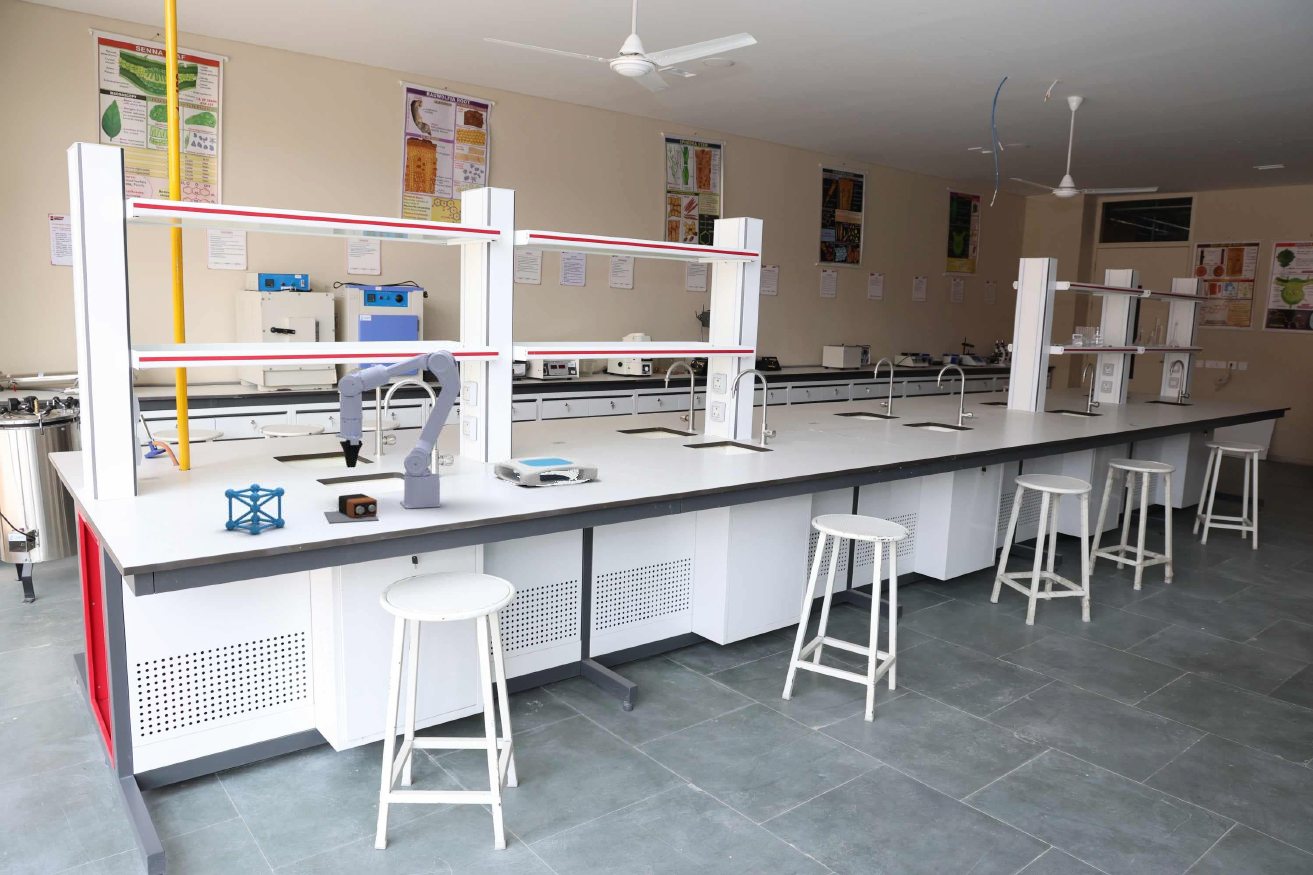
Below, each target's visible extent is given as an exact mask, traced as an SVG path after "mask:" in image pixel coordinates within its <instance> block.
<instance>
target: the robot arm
mask: <svg viewBox="0 0 1313 875" xmlns="http://www.w3.org/2000/svg"><path fill="white" fill-rule="evenodd" d="M458 364H459V363H458V362H457V359H456V358H455V356H454V355H453V353H452V352H450V350H449V351H448V350H446V349H441V350H438V351H436V352H434V351H433V352H428V353H422V354H418V355H415V356H413V357H410V358H407V359H405V360H402V361H399V362H397V363H394V364H391V365H389V366H385V365H384V364H381V363H380V364H377V363H373V364H370V367H368V368H365V369H362V370H354V371H353V373H351V374H345V375H344V376H342V377H341V378H340V379H339V381H338V383H337V388H338V391H339V392H340V401H339V421H340V422H339V431H340V432H339V433H336V434H335V437H336V438H341V439H344V440H345V441H344V440H340V441H339V443H340V446H341V448H342V451H343V454H344V455H343V456H344V460H345V464H346V468H356V467H357V463H358V462H357V461H358V459H359V458H358V456H359V453H360V450H361V448H362V447H363V444H364V443H363V442H362V440H361V439H362V438H363V437H364V435H363V401H362V400H363V398H362V397H363V396H362V395H363V394H362V393H363V391H364V392H367V391H370V390H371V391H372V390H374V389H376V388H379V387H383V386H386V385H388V384H389V383H390V381H391V378H392V377H396V376H400V375H403V374H406V373H409V372H412V371H415V370H421V371H431V373H432V374H434V376H435V377H436V378H437V381H438V382H439V384H440V387H441V390H440V393H439V394H438V396H437V399H436V401H435V403H434V406H433V407H432V410H431V412H430V414H429V416H428V418H427V421H426V423H425V425H424V426H423V427H424V428H423V429H422V431H421V433H420V436H419V437H418V440H417V442H416V443H415V445H414V447H413V450H412V451H411V452H410V453H408V455H407V456H406V457H405V458H404V460H403V466H404V467H403V468H405V471H404V478H403V479H404V481H403V482H404V483H403V484H404V488H403V491H404V496H403V499H404V500H400V504H401V505H402V506H403V507H404V509H420V508H437V507H441V502H440V500H441V498H440V497H441V493H440V492H441V488H440V487H441V480H440V476H439V474H438V473H432V471H431V469H430V468H429V467H430V465H431V463H432V460H433V458H432V454H433V451H434V449H435V445H436V443H437V441H438V439H439V436H440V435H441V433H442V430H443V428H444V426H445V423H446V422H447V419H448V418H449V415H450V412H451V411H452V409H453V407H454V405H455V402H456V400H457V397H458V395H459V393H460V391H461V389H462V388H461V387H462V384H461V383H462V382H461V377H460V371H459V365H458Z"/></svg>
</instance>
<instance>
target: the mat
mask: <svg viewBox="0 0 1313 875" xmlns="http://www.w3.org/2000/svg"><path fill="white" fill-rule="evenodd" d="M323 514H324V516H325V517H326V520H327V521H328V524H343V523H360V522H362V523H363V522H375V521H376V522H378V521H379V518H378V516H377V514H376V515H374V516H366V517H358V518H352V517H350V516H348V515H346V514H344V513H342V512H340V511H339V510H337V511H336V510H334V511H323Z"/></svg>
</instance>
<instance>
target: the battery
mask: <svg viewBox="0 0 1313 875" xmlns="http://www.w3.org/2000/svg"><path fill="white" fill-rule="evenodd" d="M377 502H378V500H377V499H376V498H374V497H371V496H369V495H366V494H364V493H354V494H347V495H346V494H345V495H339V496H338V511H340V512H342V513H344V514H346V515H348V516H350V517H352V518H358V517H366V516H374V515H376V516H377V514H378V508H377V507H378V503H377Z"/></svg>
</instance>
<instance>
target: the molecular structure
mask: <svg viewBox="0 0 1313 875" xmlns="http://www.w3.org/2000/svg"><path fill="white" fill-rule="evenodd" d="M248 492H251V494H244V493H248ZM259 492H266V493H263V494H259ZM284 495H285V489H284V488H282V487H279V486H278V487H276V488H275V489H270V488H263V487H261V486H260V485H259V484H258V483H253V484H251V485H250V487H249V488H248V487H247V488H244V489H240V490H239V489H238V490H236V491H235V490H234V489H233V488H229V489H226V490H225V492H224V496H225V498H226V499H228V520H227V521H226V523H225V525H224V526H225V528H226V529H227V530H228V531H233V530H235V529H242V530H249V532H250V533H251V534H253V535H257V534H259V533H260V532H261V530H263V529H268V528H271V527H274V526H275V527H276V528H283V527H284V526H285V524H286V522H285V519H284V518H283V517H282V497H283V496H284ZM266 497H268V498H266ZM276 497H277V518H276V517H274V516H272V515H271V514H268V513H266V512H265V511H263V510H262V509H261V507H262V506H263V505H265V504H267V503H268V502H270V501H272V500H273V499H274V498H276ZM243 498H245V499H249V501H250V502H251V503H250V502H248V501H246V500H245V499H243ZM262 498H265V500H263V501H261V502H260V500H261V499H262ZM233 499H235V500H237V501H239V502H240V503H242V504H244V505H245V506H247V507H249V510H248V511H246V512H245V513H244V514H242V515H241V516H239V517H238V518H236V519H235V520H233ZM259 502H260V503H259ZM252 503H253V504H252ZM258 503H259V504H258ZM258 513H259V514H261V515H262V516H264V517H266V518H268V519H266V518H262V517H261V515H259V514H258ZM250 514H251V516H250V518H246V517H247V516H249V515H250ZM245 518H246V519H245ZM243 519H244V520H243ZM250 522H251V523H252V525H251V526H247V525H244V524H247V523H250ZM260 522H265V523H268V524H265V525H264V524H263V525H259V523H260Z"/></svg>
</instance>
